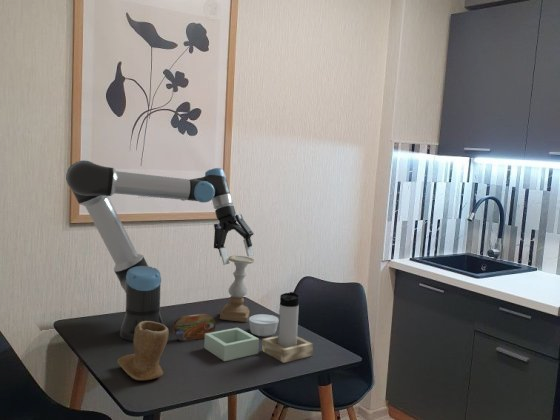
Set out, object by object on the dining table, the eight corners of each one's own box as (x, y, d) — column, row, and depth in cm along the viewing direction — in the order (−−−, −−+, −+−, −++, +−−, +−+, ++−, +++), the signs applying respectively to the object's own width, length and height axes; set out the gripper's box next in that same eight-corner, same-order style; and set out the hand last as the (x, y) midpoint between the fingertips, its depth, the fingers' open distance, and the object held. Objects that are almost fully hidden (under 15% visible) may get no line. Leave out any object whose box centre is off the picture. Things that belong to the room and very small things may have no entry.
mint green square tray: (224, 361, 162) (224, 345, 162) (204, 348, 173) (204, 333, 172) (258, 353, 170) (258, 338, 170) (237, 341, 181) (237, 327, 180)
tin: (174, 342, 177) (174, 318, 176) (171, 339, 180) (172, 315, 179) (215, 337, 184) (216, 314, 183) (212, 334, 187) (213, 311, 186)
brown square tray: (283, 362, 163) (284, 350, 163) (261, 350, 173) (262, 339, 173) (312, 355, 171) (313, 343, 170) (290, 344, 180) (290, 333, 180)
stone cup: (173, 378, 149) (175, 327, 147) (133, 386, 142) (133, 333, 140) (154, 360, 161) (155, 313, 160) (116, 367, 154) (117, 318, 153)
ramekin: (254, 339, 184) (255, 324, 184) (243, 329, 194) (244, 315, 194) (283, 335, 189) (283, 321, 188) (271, 326, 199) (271, 313, 198)
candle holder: (223, 310, 213) (229, 254, 210) (249, 314, 213) (256, 257, 210) (219, 319, 202) (225, 259, 200) (246, 322, 202) (253, 262, 199)
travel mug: (298, 351, 174) (301, 293, 172) (293, 358, 168) (296, 297, 166) (281, 348, 176) (284, 290, 174) (274, 354, 170) (277, 295, 168)
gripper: (252, 197, 196) (267, 250, 193) (210, 215, 212) (223, 265, 209) (239, 198, 190) (254, 253, 188) (196, 217, 206) (210, 268, 203)
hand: (238, 260), depth 198 cm, fingers open, 13 cm apart
